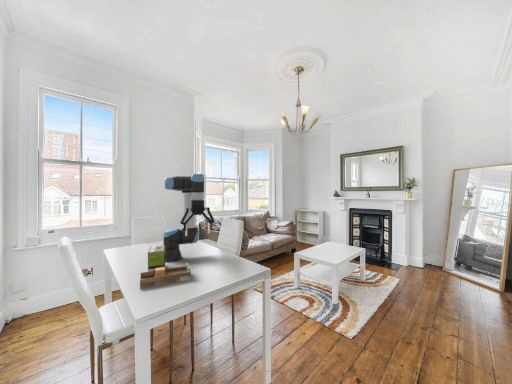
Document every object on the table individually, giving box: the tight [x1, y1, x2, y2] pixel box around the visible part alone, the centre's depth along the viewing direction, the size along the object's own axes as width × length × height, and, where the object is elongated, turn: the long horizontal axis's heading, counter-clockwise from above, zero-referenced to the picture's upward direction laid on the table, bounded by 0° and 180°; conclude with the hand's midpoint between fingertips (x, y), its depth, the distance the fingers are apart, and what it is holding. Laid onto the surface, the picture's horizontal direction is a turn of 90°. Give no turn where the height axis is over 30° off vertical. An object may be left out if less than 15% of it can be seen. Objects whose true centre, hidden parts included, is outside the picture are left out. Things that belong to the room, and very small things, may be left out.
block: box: [155, 267, 166, 277], centre depth 131 cm, size 5×5×4 cm
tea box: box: [147, 245, 166, 272], centre depth 147 cm, size 15×10×15 cm, turn 21°
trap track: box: [139, 262, 192, 289], centre depth 131 cm, size 12×27×6 cm, turn 116°
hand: (197, 234), depth 132 cm, fingers open, 13 cm apart
